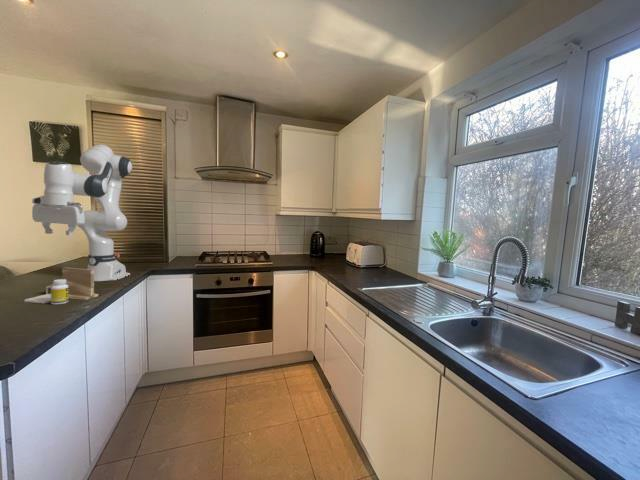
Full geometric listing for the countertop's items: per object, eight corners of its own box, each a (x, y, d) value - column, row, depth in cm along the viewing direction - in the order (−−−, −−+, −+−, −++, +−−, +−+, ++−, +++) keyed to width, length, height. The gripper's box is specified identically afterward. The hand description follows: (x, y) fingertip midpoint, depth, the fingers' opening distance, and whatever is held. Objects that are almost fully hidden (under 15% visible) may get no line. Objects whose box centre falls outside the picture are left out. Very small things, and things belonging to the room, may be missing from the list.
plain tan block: (53, 292, 129) (53, 284, 128) (62, 292, 129) (62, 284, 129) (45, 295, 125) (45, 286, 124) (56, 295, 125) (55, 286, 125)
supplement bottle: (68, 303, 116) (68, 280, 115) (50, 305, 112) (50, 282, 111) (68, 300, 120) (68, 278, 119) (51, 302, 116) (50, 279, 115)
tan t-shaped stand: (70, 293, 129) (70, 266, 127) (98, 296, 127) (98, 268, 126) (57, 297, 123) (57, 268, 122) (86, 299, 121) (86, 271, 120)
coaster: (47, 295, 124) (47, 293, 123) (65, 297, 123) (65, 295, 123) (24, 301, 115) (24, 299, 114) (43, 303, 114) (43, 301, 114)
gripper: (89, 203, 115) (89, 235, 116) (45, 200, 117) (45, 232, 118) (74, 202, 109) (74, 236, 110) (28, 199, 110) (28, 232, 111)
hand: (59, 234), depth 114 cm, fingers open, 8 cm apart
